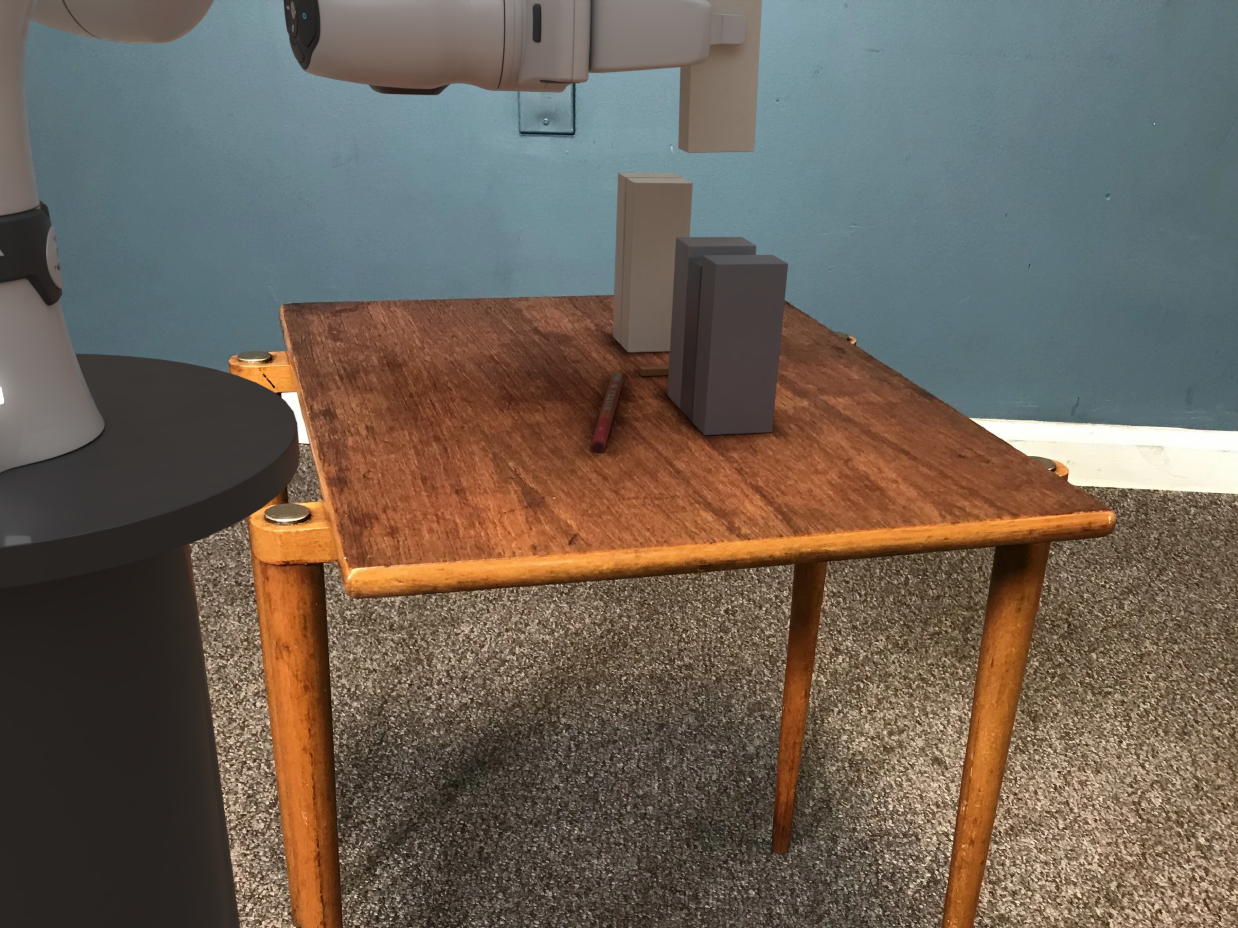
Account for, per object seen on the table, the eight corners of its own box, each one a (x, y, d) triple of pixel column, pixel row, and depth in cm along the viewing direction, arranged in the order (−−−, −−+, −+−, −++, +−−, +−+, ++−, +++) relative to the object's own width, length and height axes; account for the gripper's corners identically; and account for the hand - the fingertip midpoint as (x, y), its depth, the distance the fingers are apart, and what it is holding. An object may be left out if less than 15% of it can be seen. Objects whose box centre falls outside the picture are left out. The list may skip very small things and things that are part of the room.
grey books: (704, 435, 91) (715, 264, 85) (667, 396, 99) (675, 237, 93) (772, 432, 92) (788, 263, 87) (730, 393, 100) (742, 236, 95)
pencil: (605, 455, 87) (605, 441, 86) (589, 454, 87) (589, 440, 86) (625, 377, 103) (625, 365, 103) (612, 376, 104) (612, 365, 103)
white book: (687, 153, 90) (694, -74, 84) (678, 148, 92) (683, -73, 86) (754, 151, 91) (766, -72, 85) (743, 147, 93) (753, -71, 87)
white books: (641, 376, 104) (649, 196, 97) (604, 336, 114) (609, 172, 108) (715, 373, 105) (728, 196, 99) (673, 335, 116) (682, 172, 109)
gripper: (511, 61, 95) (688, 67, 98) (568, 84, 78) (780, 90, 81) (511, -35, 92) (693, -25, 96) (569, -33, 75) (790, -21, 78)
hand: (734, 28), depth 88 cm, fingers closed on white book, 2 cm apart
